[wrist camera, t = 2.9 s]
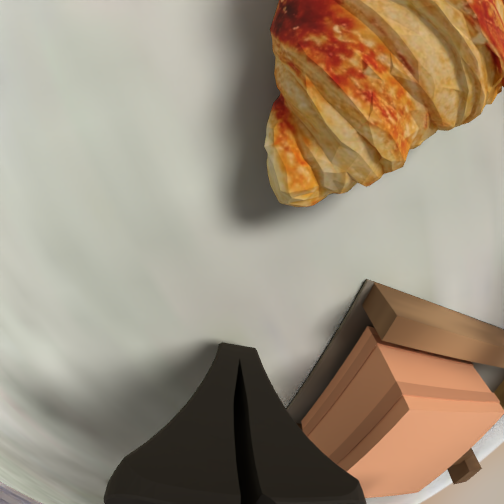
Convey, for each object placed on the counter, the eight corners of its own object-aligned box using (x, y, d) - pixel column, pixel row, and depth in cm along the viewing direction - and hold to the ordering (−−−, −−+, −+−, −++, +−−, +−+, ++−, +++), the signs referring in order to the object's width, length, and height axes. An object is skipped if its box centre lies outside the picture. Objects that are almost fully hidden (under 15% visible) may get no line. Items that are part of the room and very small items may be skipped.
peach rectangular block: (462, 349, 12) (506, 411, 8) (395, 431, 15) (417, 492, 10) (367, 324, 12) (409, 408, 7) (299, 421, 14) (311, 499, 10)
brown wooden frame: (547, 328, 13) (577, 358, 10) (450, 448, 17) (466, 481, 14) (379, 253, 11) (423, 301, 8) (264, 439, 15) (266, 494, 12)
